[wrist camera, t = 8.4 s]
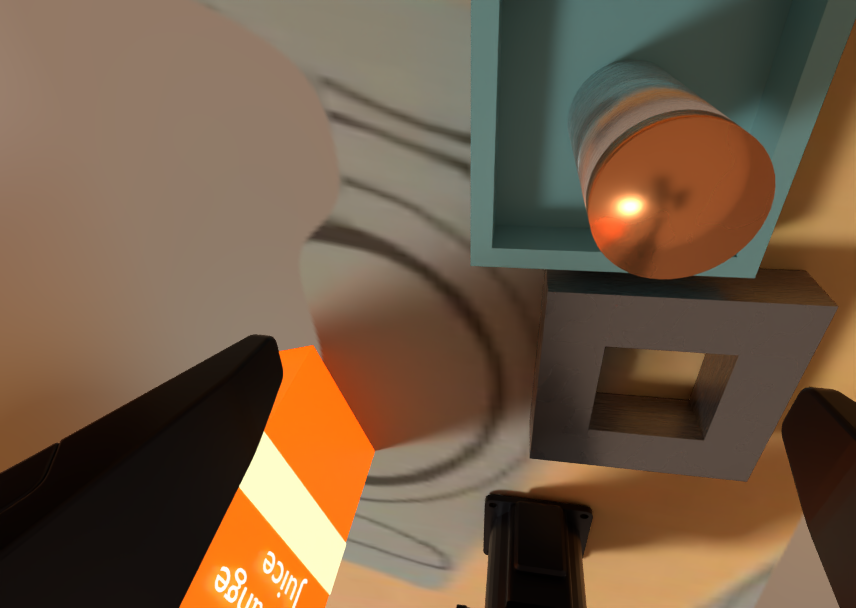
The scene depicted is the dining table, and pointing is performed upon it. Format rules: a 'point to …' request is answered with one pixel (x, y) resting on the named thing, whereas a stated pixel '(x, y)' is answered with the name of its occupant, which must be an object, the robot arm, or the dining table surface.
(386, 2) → the dining table surface
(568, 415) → the grey flat square frame
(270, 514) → the orange juice
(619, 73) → the pin
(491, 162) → the tray
